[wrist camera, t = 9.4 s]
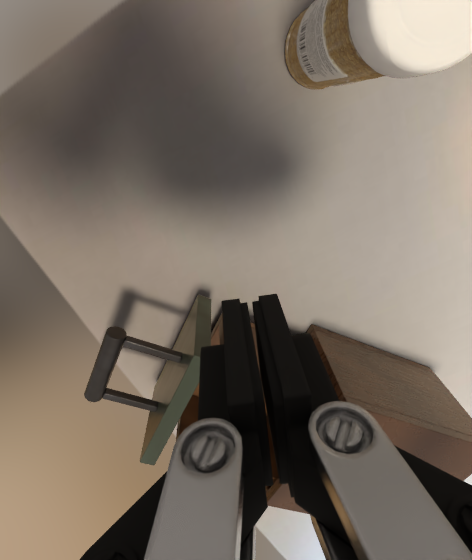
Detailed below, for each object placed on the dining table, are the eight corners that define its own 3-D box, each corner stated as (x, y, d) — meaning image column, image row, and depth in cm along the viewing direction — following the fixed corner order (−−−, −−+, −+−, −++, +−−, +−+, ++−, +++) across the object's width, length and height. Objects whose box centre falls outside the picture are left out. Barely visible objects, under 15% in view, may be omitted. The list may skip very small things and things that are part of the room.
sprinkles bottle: (346, 90, 23) (494, 76, 11) (280, 88, 23) (357, 72, 11) (359, 4, 21) (558, -128, 9) (285, 2, 20) (389, -140, 9)
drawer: (95, 371, 32) (63, 446, 25) (131, 270, 27) (104, 327, 20) (275, 420, 36) (290, 495, 29) (332, 342, 32) (365, 408, 25)
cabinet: (252, 412, 37) (264, 505, 28) (311, 323, 32) (348, 404, 23) (361, 442, 40) (401, 533, 32) (430, 367, 35) (499, 451, 27)
